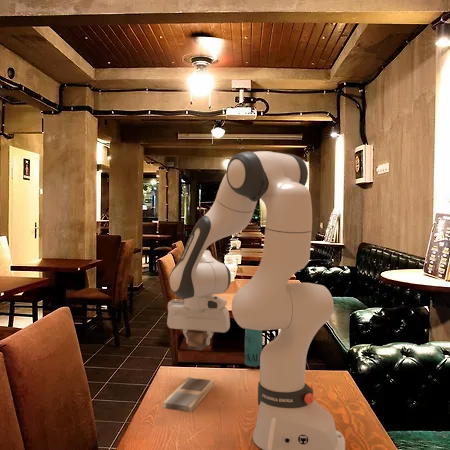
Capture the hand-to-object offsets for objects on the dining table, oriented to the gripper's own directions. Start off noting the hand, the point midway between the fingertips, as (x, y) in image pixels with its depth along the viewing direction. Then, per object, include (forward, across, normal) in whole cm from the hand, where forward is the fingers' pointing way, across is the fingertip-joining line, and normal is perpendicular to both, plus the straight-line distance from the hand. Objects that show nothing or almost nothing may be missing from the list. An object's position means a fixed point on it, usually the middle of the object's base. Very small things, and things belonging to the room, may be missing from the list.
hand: (198, 343), depth 142 cm
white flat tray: (+14, 0, -6) cm, 16 cm away
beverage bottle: (+14, +12, +23) cm, 30 cm away
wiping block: (+1, 0, +1) cm, 1 cm away
